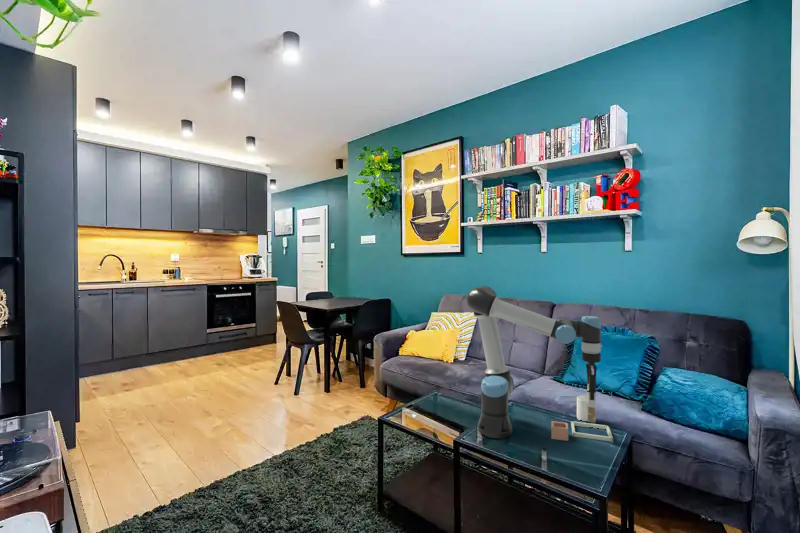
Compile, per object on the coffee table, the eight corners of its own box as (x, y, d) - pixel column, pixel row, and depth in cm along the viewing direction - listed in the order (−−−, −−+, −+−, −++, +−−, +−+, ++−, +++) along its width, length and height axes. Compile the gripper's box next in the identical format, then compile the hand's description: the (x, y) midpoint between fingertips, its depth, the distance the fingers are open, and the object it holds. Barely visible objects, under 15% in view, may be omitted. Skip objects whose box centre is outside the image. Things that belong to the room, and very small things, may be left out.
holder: (551, 440, 169) (551, 426, 168) (551, 434, 175) (551, 420, 175) (568, 443, 166) (568, 429, 166) (567, 436, 172) (567, 423, 172)
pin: (587, 422, 173) (587, 385, 173) (587, 419, 176) (587, 383, 176) (596, 423, 172) (595, 386, 172) (595, 420, 175) (595, 384, 175)
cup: (592, 416, 195) (592, 396, 195) (601, 426, 183) (601, 404, 183) (574, 416, 196) (574, 395, 196) (582, 425, 184) (582, 404, 184)
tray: (572, 438, 171) (572, 432, 171) (571, 426, 183) (571, 421, 183) (613, 444, 165) (613, 438, 165) (608, 431, 178) (608, 425, 178)
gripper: (603, 356, 165) (603, 413, 165) (598, 348, 180) (598, 400, 181) (583, 355, 168) (583, 410, 168) (580, 347, 183) (580, 398, 183)
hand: (591, 405), depth 174 cm, fingers closed on pin, 3 cm apart
